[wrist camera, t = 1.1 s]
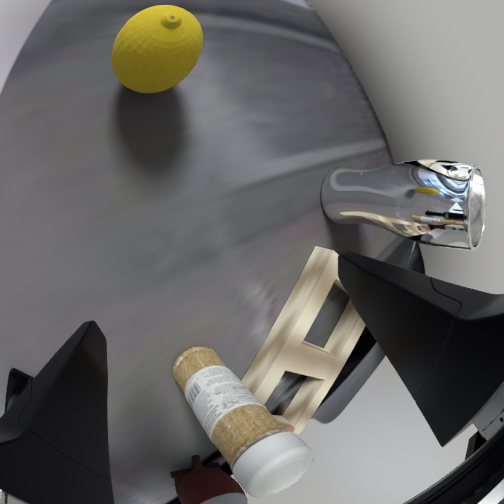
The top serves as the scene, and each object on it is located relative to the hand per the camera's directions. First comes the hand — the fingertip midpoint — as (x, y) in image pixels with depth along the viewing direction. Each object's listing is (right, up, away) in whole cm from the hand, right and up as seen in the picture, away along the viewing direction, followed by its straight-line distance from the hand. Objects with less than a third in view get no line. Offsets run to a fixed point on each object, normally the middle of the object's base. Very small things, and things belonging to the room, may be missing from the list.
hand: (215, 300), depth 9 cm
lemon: (-7, +15, +7) cm, 18 cm away
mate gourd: (-6, -25, +16) cm, 30 cm away
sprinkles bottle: (-4, -8, +14) cm, 17 cm away
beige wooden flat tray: (+6, -10, +20) cm, 23 cm away
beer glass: (+10, +8, +19) cm, 23 cm away
